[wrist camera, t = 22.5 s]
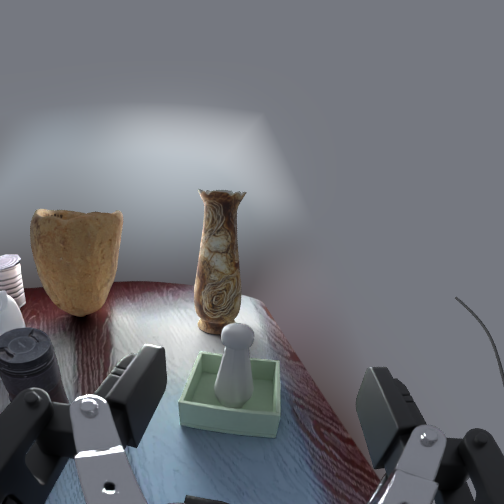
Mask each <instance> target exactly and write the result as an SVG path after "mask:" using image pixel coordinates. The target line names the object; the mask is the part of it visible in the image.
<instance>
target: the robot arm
mask: <svg viewBox="0 0 504 504" xmlns="http://www.w3.org/2000/svg"><path fill="white" fill-rule="evenodd" d="M455 299H456V300H458V301H459V302H460V303H461V304H462V305H463V306H464V307H465V308H466V309H467V310H468V311H469V312H470V313H471V314H472V315H473V316H474V317H475V318H476V319H477V320H478V322H479V323H480V324H481V326H482V327H483V328H484V330H485V332H486V333H487V335H488V337H489V339H490V341H491V343H492V346H493V348H494V351H495V354H496V358H497V361H498V365H499V369H500V373H501V377H502V381H503V385H504V373H503V369H502V365H501V362H500V358H499V355H498V352H497V349H496V346H495V344H494V341H493V339H492V337H491V335H490V333H489V332H488V330H487V328H486V327H485V325H484V324H483V323H482V321H481V320H480V319H479V318H478V317H477V316H476V315H475V313H474V312H473V311H472V310H471V309H469V308H468V307H467V306H466V305H465V304H464V303H463V302H462V301H461V300H459V299H458V298H457V297H455ZM166 384H167V372H166V358H165V349H164V347H160V346H155V345H150V344H144V346H143V347H142V348H141V350H140V351H139V352H138V354H134V353H131V354H129V355H127V356H125V357H124V358H122V359H121V360H120V361H119V363H118V364H117V365H116V368H114V369H113V370H112V371H111V374H109V375H108V376H107V378H106V379H105V380H104V382H103V383H102V384H101V385H100V387H99V388H98V389H97V390H96V392H95V393H94V394H93V395H85V396H81V397H78V398H77V399H75V400H74V401H73V402H72V403H71V404H66V403H58V402H51V400H50V397H49V395H48V393H47V392H46V391H44V390H43V389H40V388H28V389H25V390H23V391H21V392H20V393H19V394H18V395H17V396H16V397H15V398H14V399H13V401H12V402H11V403H10V404H9V405H8V406H7V407H6V408H5V409H4V411H3V412H2V413H1V414H0V504H45V502H46V500H47V498H48V496H49V494H50V492H51V491H52V489H53V487H54V485H55V483H56V481H57V479H58V478H59V476H60V474H61V472H62V470H63V469H64V467H65V465H66V463H67V461H68V460H69V458H72V459H75V463H76V468H77V472H78V476H79V480H80V484H81V487H82V491H83V494H84V498H85V501H86V504H147V501H146V499H145V497H144V495H143V493H142V491H141V489H140V487H139V485H138V482H137V480H136V478H135V475H134V473H133V471H132V468H131V466H130V464H129V461H128V459H127V456H126V453H125V451H124V450H125V448H126V446H127V445H128V446H131V447H135V448H137V447H138V445H139V443H140V441H141V439H142V437H143V434H144V432H145V430H146V428H147V426H148V424H149V422H150V420H151V418H152V416H153V414H154V412H155V410H156V408H157V406H158V404H159V402H160V400H161V398H162V396H163V394H164V392H165V389H166ZM356 411H357V413H358V417H359V420H360V424H361V427H362V430H363V433H364V436H365V440H366V443H367V447H368V450H369V454H370V457H371V460H372V464H373V468H374V469H380V468H385V470H386V473H385V475H384V476H383V478H382V479H381V481H380V483H379V484H378V486H377V488H376V489H375V491H374V493H373V494H372V496H371V498H370V499H369V501H368V502H367V504H432V502H433V500H435V503H436V504H504V456H503V454H502V452H501V450H500V448H499V447H498V445H497V443H496V442H495V440H494V438H493V437H492V435H491V434H490V433H489V432H487V431H486V430H483V429H479V428H475V429H471V430H469V431H468V432H467V433H466V435H465V436H464V438H463V439H457V438H456V439H455V438H446V436H445V434H444V433H443V431H442V430H440V429H439V428H437V427H435V426H432V425H427V424H426V422H425V420H424V418H423V416H422V415H421V413H420V411H419V409H418V407H417V406H416V404H415V402H414V401H413V398H412V396H410V393H409V391H408V389H407V388H406V386H405V385H404V384H402V382H400V381H399V380H398V379H393V377H392V375H391V374H390V372H389V370H388V368H387V367H369V368H368V369H367V370H366V372H365V375H364V378H363V381H362V384H361V387H360V389H359V392H358V395H357V398H356ZM32 444H33V445H32ZM30 447H31V448H30ZM28 450H29V451H28ZM26 453H27V454H26ZM469 478H471V481H472V483H473V485H474V488H475V490H476V499H475V501H474V499H473V497H472V494H471V492H470V489H469V487H468V484H467V482H466V481H467V480H468V479H469ZM169 504H229V503H226V502H223V501H218V500H211V499H205V498H200V497H194V496H189V495H186V498H185V501H184V503H169Z"/></svg>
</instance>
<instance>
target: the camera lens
mask: <svg viewBox="0 0 504 504" xmlns="http://www.w3.org/2000/svg"><path fill="white" fill-rule="evenodd" d="M0 376H1V379H2V381H3V384H4V385H5V387H6V389H7V391H8V392H9V399H10V402H12V401H13V399H14V398H15V397H16V396H17V395H18V394H19V393H20V392H21V391H23V390H25V389H28V388H40V389H43V390H44V391H46V392H47V393H48V395H49V397H50V400H51V402H58V403H66V404H70V403H69V400H68V398H67V396H66V393H65V390H64V387H63V384H62V381H61V374H60V369H59V365H58V361H57V358H56V354H55V350H54V347H53V345H52V343H51V340H50V338H49V336H48V335H47V334H46V333H45V332H43V331H41V330H38V329H34V328H16V329H13V330H10V331H7V332H5V333H3V334H2V335H1V336H0Z"/></svg>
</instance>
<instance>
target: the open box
mask: <svg viewBox="0 0 504 504" xmlns="http://www.w3.org/2000/svg"><path fill="white" fill-rule="evenodd" d="M222 357H223V354H216V353H209V352H202V351H200V352H199V354H198V357H197V359H196V361H195V364H194V366H193V368H192V371H191V373H190V376H189V378H188V380H187V383H186V385H185V387H184V390H183V392H182V395H181V397H180V400H179V402H178V404H179V416H180V425H181V426H186V427H191V428H197V429H202V430H208V431H215V432H221V433H229V434H237V435H245V436H255V437H267V438H276V434H277V430H278V426H279V421H280V417H281V399H280V361H278V360H267V359H257V358H250V362H251V370H252V379H253V387H254V391H253V394H252V397H251V398H250V399H249V400H248V401H247V402H246V403H245V404H244V405H243V407H242V408H236V409H234V408H227V407H225V406H223V405H221V404H220V403H219V401H218V399H217V397H216V395H215V392H214V385H215V381H216V378H217V374H218V371H219V367H220V364H221V360H222Z"/></svg>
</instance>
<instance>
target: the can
mask: <svg viewBox="0 0 504 504" xmlns="http://www.w3.org/2000/svg"><path fill="white" fill-rule="evenodd" d="M20 259H21V258H20V257H19V256H18V255H3V256H0V291H6V293H7V295H9V296H10V297H12V298H13V299H14V301H15V302H16V303H17V305H18V307H19V308H21V307H22V306H23V305H24V304H25V303H26V302H25V295H24V289H23V283H22V276H21V269H20Z"/></svg>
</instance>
